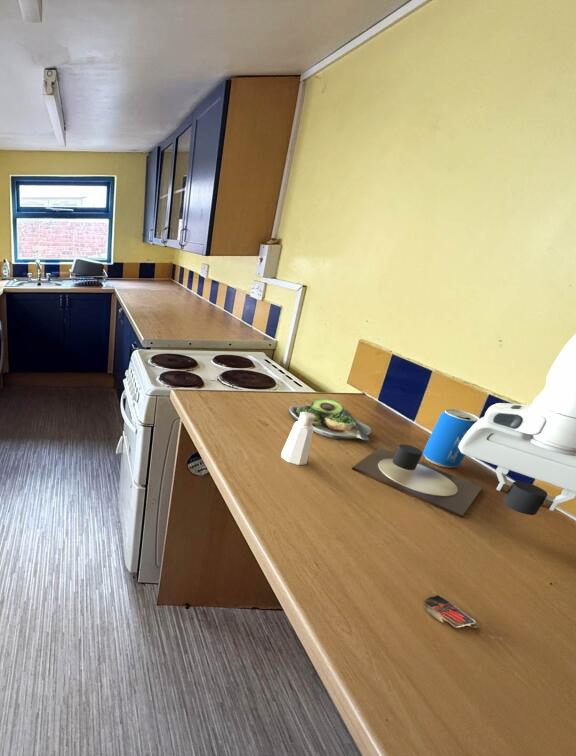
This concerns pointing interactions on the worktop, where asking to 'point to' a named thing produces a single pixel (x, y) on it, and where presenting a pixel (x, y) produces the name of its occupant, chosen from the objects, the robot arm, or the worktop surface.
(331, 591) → the worktop surface
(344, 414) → the salad plate
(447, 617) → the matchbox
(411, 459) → the dot left
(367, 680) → the worktop surface
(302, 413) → the pepper shaker
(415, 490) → the board
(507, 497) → the dot right
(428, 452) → the beverage can
